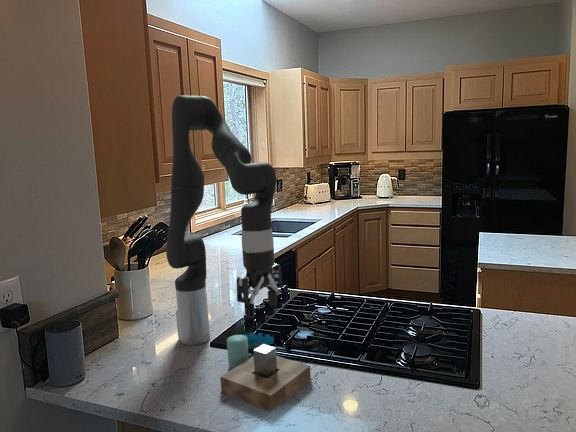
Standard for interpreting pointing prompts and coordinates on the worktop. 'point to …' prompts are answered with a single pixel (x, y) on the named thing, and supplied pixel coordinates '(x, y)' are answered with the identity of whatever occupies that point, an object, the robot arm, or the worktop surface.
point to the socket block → (265, 383)
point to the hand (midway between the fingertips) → (261, 311)
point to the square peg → (265, 361)
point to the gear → (258, 340)
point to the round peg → (237, 350)
